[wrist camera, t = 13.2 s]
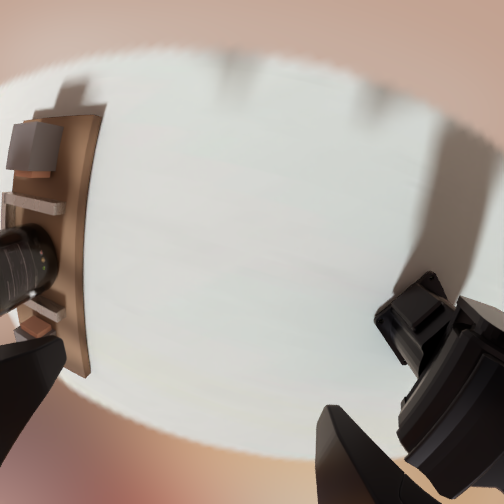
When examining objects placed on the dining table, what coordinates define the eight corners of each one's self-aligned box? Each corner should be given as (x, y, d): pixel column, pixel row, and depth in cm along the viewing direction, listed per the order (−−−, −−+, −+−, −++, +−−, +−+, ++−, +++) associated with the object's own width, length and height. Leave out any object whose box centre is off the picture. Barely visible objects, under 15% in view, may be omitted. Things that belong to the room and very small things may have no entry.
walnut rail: (90, 372, 24) (68, 396, 19) (29, 337, 24) (6, 353, 20) (101, 117, 18) (67, 105, 13) (31, 122, 18) (0, 117, 14)
